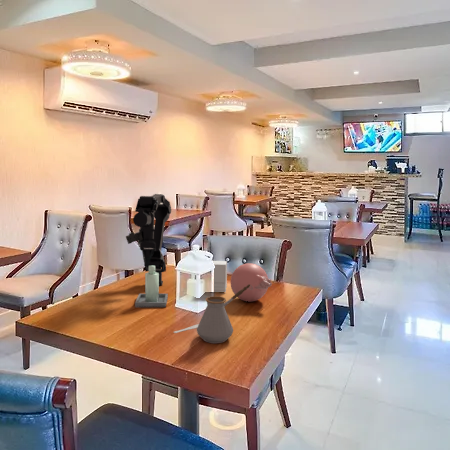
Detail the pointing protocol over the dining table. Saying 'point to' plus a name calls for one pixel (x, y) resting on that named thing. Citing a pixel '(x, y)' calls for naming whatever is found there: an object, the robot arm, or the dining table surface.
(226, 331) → the coffee pot
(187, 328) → the butter knife
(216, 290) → the supplement box
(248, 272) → the pomegranate
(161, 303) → the slate tray
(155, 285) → the glass bottle
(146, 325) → the dining table surface
